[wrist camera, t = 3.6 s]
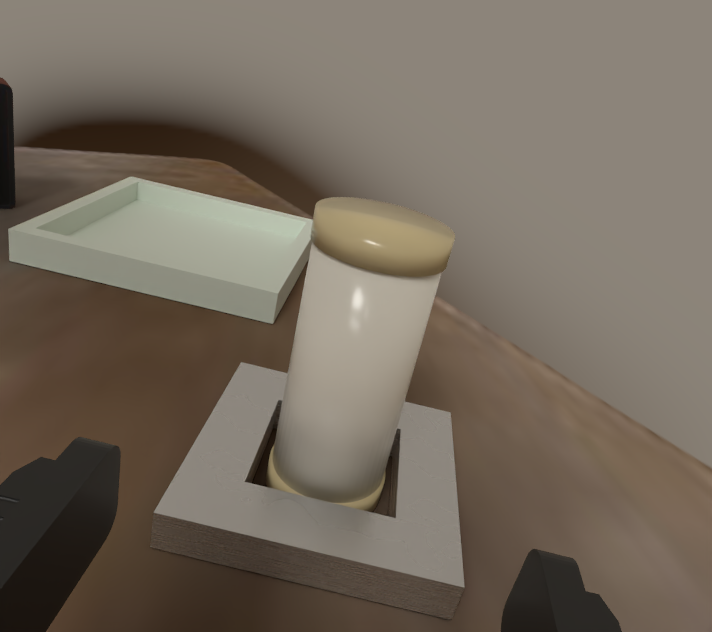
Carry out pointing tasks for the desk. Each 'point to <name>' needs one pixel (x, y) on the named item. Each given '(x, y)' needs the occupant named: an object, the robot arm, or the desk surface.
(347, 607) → the desk surface
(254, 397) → the fuse holder
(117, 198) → the parts tray
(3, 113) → the radio
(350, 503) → the cartridge fuse
